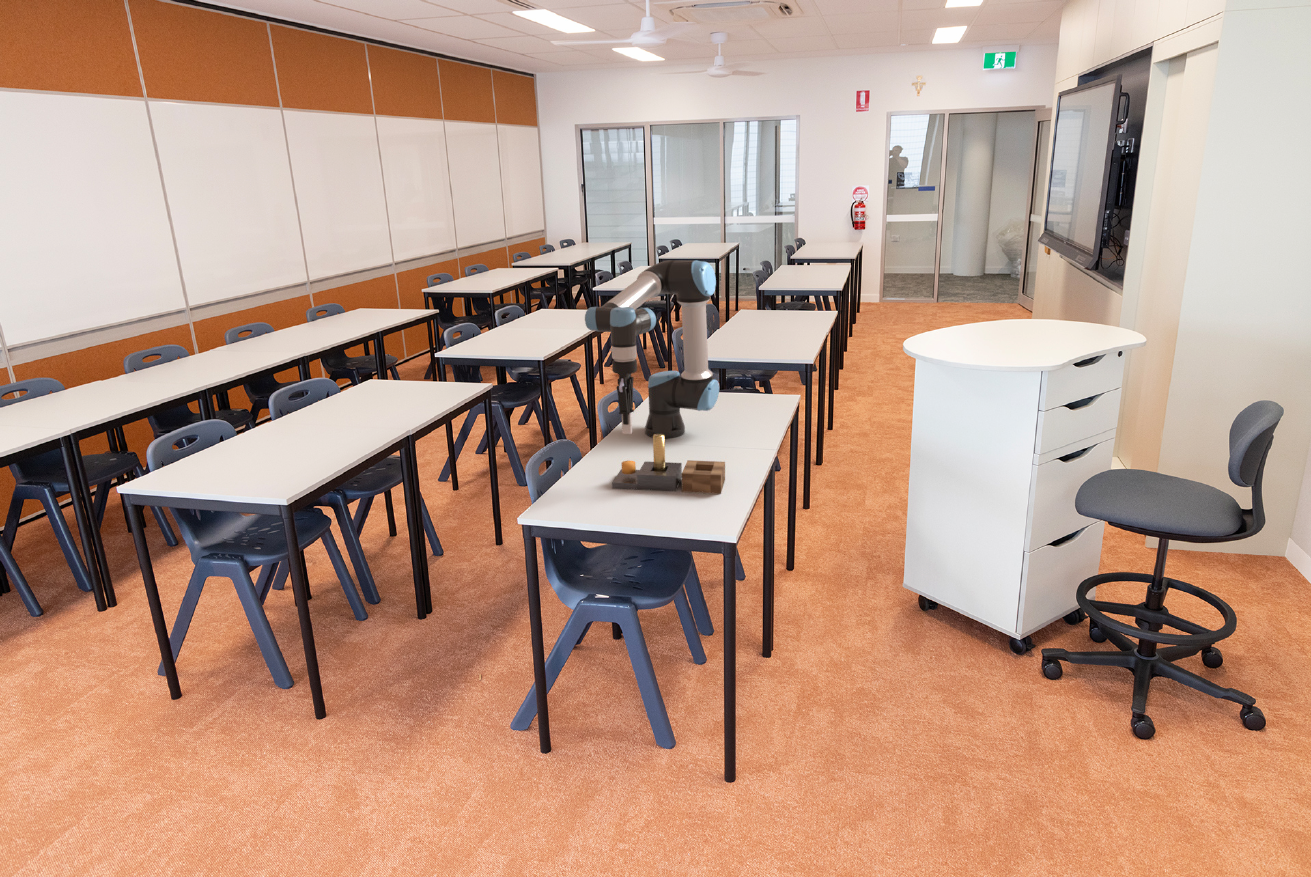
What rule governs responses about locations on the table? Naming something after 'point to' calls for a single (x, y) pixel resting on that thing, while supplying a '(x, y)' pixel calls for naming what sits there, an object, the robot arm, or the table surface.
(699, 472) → the wooden peg hole block
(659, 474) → the socket
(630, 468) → the release button
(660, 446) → the gold metal bar
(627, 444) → the table surface
